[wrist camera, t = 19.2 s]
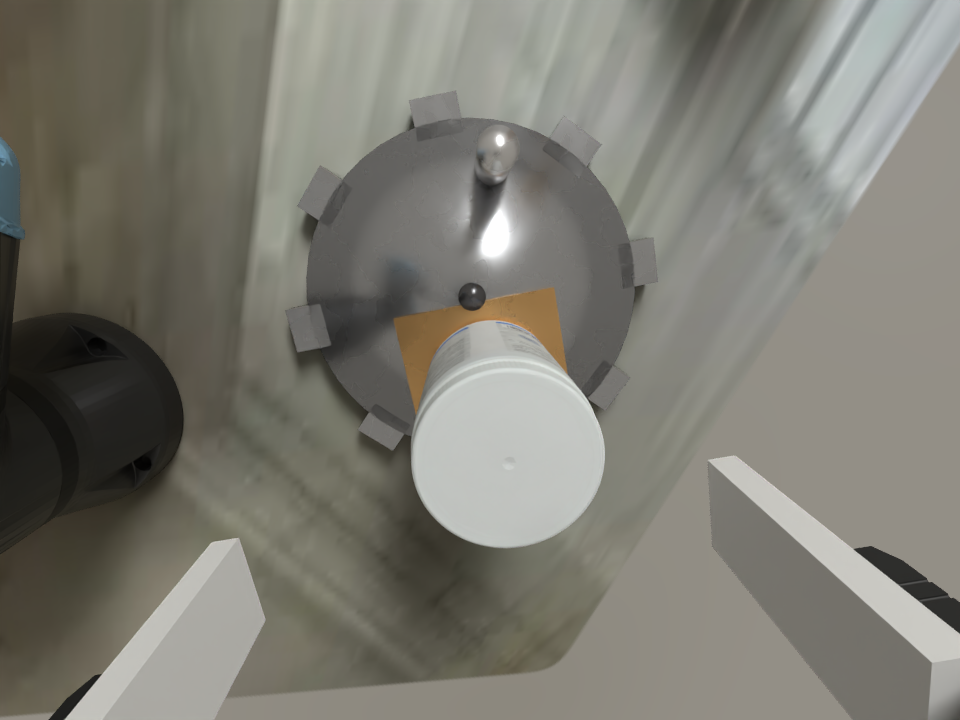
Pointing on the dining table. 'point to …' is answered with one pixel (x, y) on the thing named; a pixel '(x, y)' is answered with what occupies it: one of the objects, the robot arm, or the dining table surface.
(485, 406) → the supplement tub
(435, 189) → the sprocket
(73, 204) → the dining table surface
